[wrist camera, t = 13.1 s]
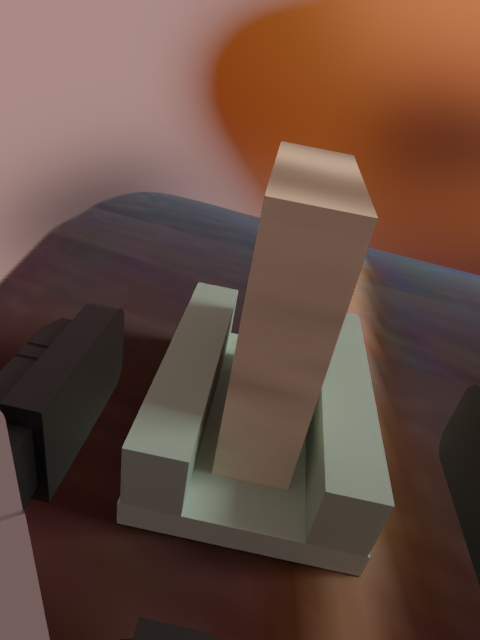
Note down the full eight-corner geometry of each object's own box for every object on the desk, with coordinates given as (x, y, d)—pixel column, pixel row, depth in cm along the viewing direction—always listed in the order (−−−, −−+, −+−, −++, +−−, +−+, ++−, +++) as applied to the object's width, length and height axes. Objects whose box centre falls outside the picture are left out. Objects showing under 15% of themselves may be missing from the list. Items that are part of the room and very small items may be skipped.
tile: (239, 355, 25) (281, 141, 19) (294, 366, 24) (353, 155, 19) (211, 473, 18) (264, 195, 12) (287, 490, 18) (378, 218, 12)
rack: (189, 341, 27) (196, 281, 25) (340, 373, 27) (360, 315, 25) (116, 522, 17) (118, 447, 15) (360, 576, 16) (397, 507, 14)
